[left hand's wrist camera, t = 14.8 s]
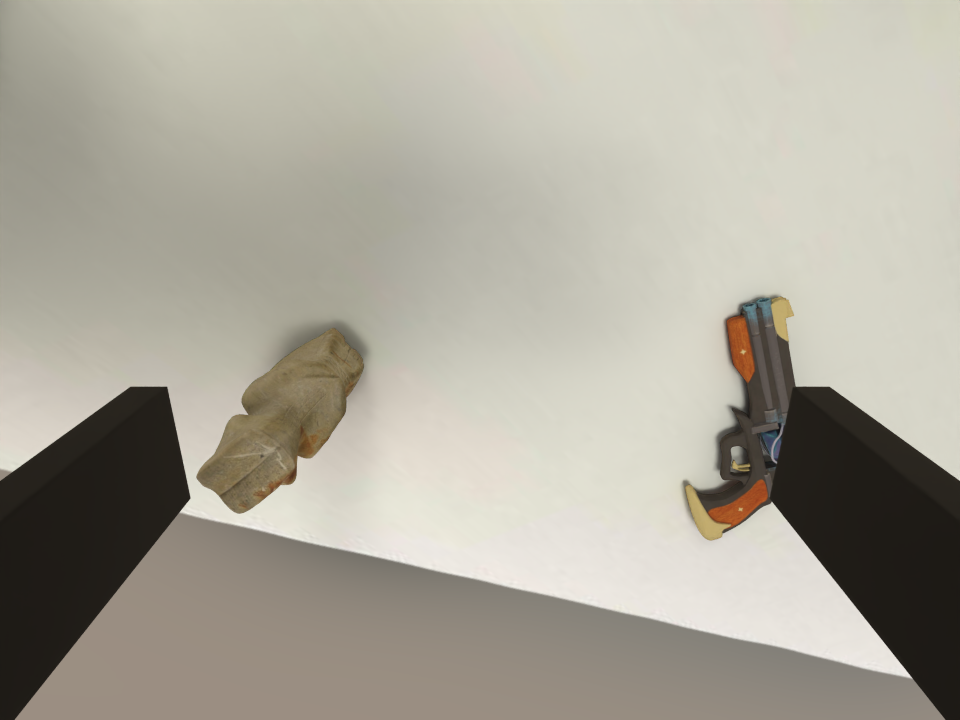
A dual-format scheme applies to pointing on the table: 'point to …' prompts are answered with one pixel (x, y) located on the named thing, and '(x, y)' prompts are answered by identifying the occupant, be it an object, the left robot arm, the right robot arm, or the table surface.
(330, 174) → the table surface
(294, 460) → the sculpture
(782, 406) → the toy gun
